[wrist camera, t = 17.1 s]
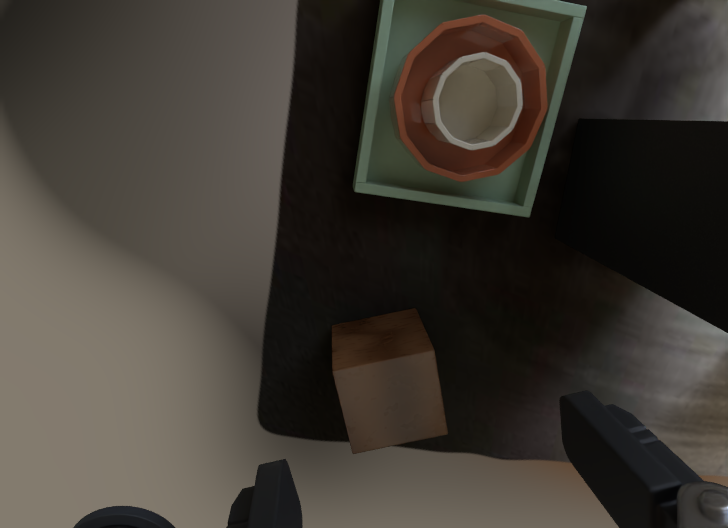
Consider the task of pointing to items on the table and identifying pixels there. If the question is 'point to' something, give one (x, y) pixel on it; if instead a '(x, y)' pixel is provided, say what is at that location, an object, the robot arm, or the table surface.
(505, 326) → the table surface
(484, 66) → the small bowl
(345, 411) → the block
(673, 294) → the light fixture
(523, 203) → the tray
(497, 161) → the big bowl
